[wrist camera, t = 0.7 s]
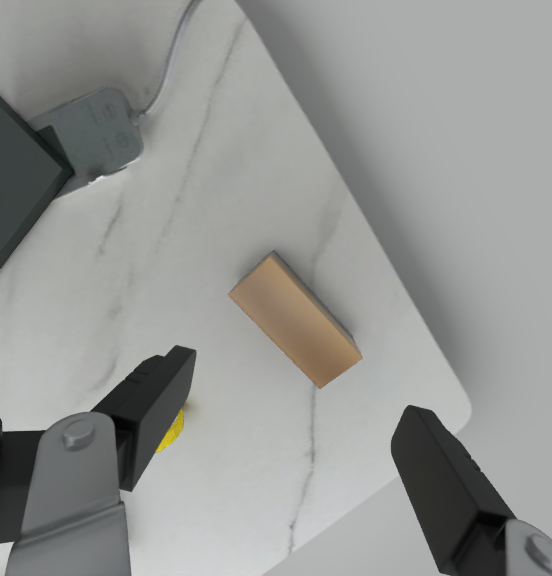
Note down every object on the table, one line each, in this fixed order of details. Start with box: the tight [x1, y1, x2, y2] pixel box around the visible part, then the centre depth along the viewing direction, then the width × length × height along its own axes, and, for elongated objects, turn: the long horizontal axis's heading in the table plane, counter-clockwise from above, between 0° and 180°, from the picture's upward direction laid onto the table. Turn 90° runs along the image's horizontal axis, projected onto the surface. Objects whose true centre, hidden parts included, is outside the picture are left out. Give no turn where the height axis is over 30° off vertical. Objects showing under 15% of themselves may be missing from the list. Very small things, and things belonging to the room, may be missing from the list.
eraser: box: [228, 250, 363, 389], centre depth 23 cm, size 4×11×4 cm, turn 42°
